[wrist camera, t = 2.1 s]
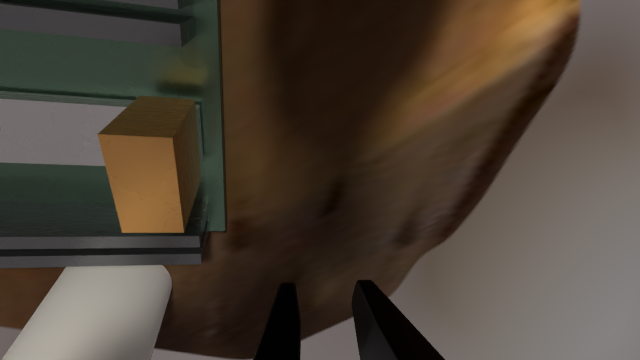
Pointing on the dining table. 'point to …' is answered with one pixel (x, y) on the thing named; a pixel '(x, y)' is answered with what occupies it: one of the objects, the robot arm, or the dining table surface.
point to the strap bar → (114, 149)
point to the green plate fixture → (113, 83)
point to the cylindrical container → (97, 315)
